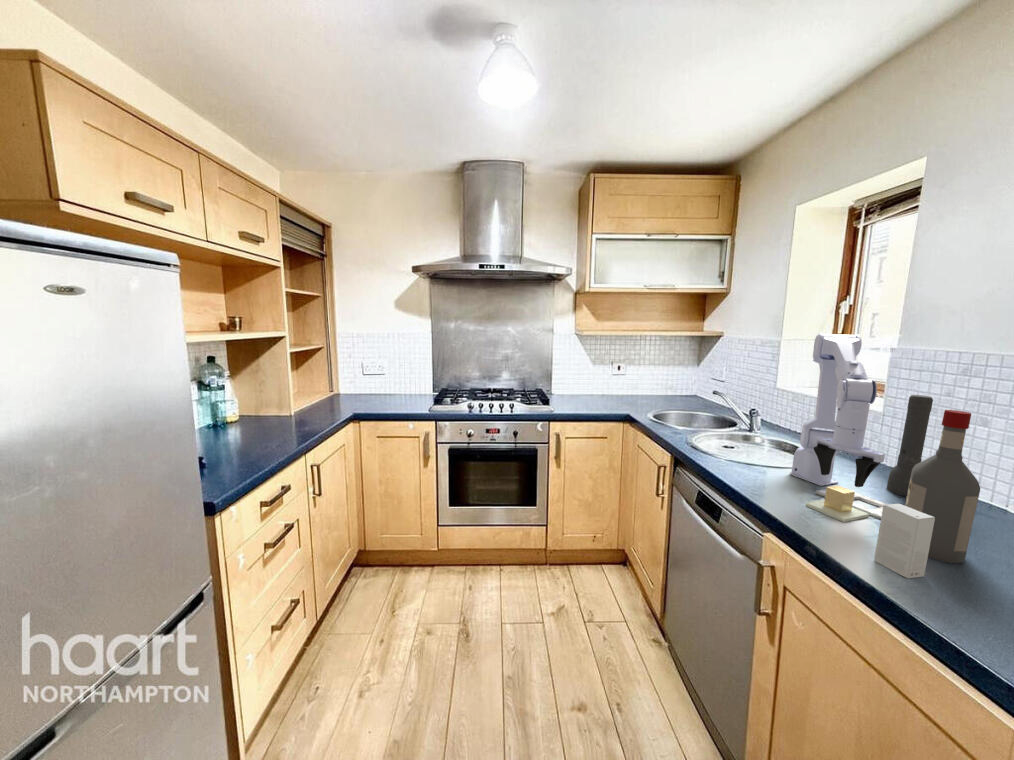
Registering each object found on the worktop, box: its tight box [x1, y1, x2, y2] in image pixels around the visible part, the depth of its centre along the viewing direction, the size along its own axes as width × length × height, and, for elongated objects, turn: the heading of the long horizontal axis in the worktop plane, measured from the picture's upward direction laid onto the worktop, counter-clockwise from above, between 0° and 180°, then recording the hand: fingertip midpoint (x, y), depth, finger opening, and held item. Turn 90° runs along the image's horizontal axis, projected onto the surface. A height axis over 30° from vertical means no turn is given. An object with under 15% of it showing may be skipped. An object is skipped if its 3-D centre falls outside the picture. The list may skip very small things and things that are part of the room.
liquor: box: [904, 409, 981, 564], centre depth 83 cm, size 9×9×30 cm
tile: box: [805, 498, 870, 523], centre depth 102 cm, size 9×9×1 cm
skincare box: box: [873, 503, 935, 579], centre depth 77 cm, size 6×4×12 cm
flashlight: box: [886, 394, 934, 497], centre depth 113 cm, size 7×28×7 cm
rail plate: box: [815, 488, 888, 520], centre depth 106 cm, size 18×10×1 cm, turn 20°
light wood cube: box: [823, 485, 856, 513], centre depth 102 cm, size 4×4×5 cm
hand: (841, 480), depth 101 cm, fingers open, 7 cm apart
